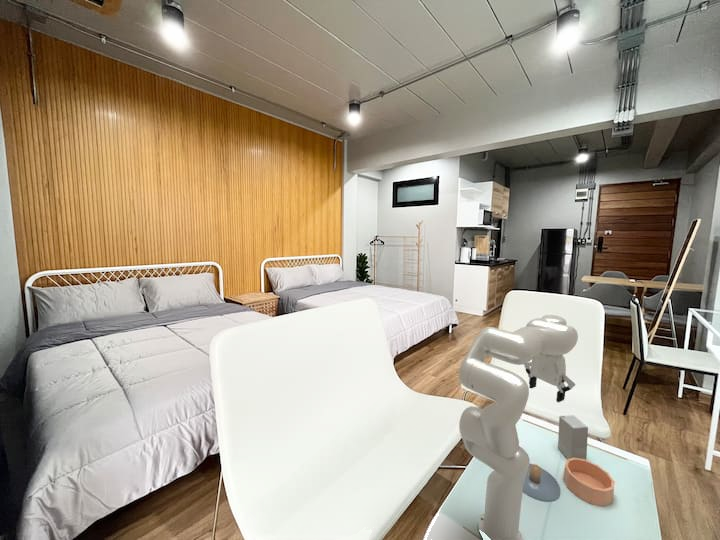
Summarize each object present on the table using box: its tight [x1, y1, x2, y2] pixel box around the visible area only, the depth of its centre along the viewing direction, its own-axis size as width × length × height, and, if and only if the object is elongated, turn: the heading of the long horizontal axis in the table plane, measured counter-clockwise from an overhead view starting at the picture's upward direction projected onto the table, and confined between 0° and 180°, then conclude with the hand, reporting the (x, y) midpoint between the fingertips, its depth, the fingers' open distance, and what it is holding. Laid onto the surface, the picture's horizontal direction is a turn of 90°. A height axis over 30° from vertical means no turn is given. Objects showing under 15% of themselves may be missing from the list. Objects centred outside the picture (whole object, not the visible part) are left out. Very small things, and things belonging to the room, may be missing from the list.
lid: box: [523, 463, 561, 503], centre depth 108 cm, size 16×16×6 cm
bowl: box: [562, 458, 616, 507], centre depth 106 cm, size 14×14×6 cm
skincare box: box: [557, 415, 589, 460], centre depth 120 cm, size 8×7×16 cm
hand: (545, 393), depth 106 cm, fingers open, 9 cm apart
